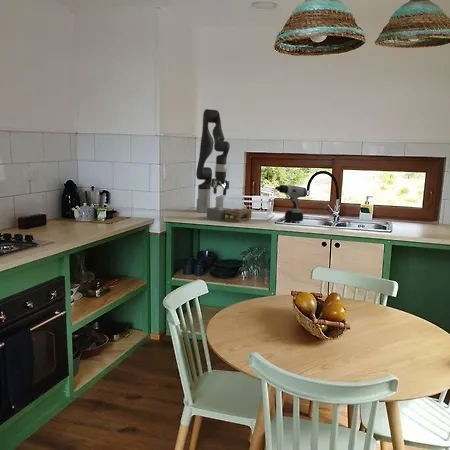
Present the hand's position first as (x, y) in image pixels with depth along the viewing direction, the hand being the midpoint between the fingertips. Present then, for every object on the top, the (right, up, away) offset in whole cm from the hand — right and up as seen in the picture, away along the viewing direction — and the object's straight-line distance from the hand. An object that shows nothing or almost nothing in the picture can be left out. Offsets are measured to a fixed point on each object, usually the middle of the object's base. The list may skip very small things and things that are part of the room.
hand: (219, 194), depth 330 cm
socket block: (+12, -18, -3) cm, 22 cm away
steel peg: (-1, -16, +3) cm, 17 cm away
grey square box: (-1, -16, +3) cm, 17 cm away
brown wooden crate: (+13, -17, -2) cm, 21 cm away
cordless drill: (+49, -18, +8) cm, 52 cm away
